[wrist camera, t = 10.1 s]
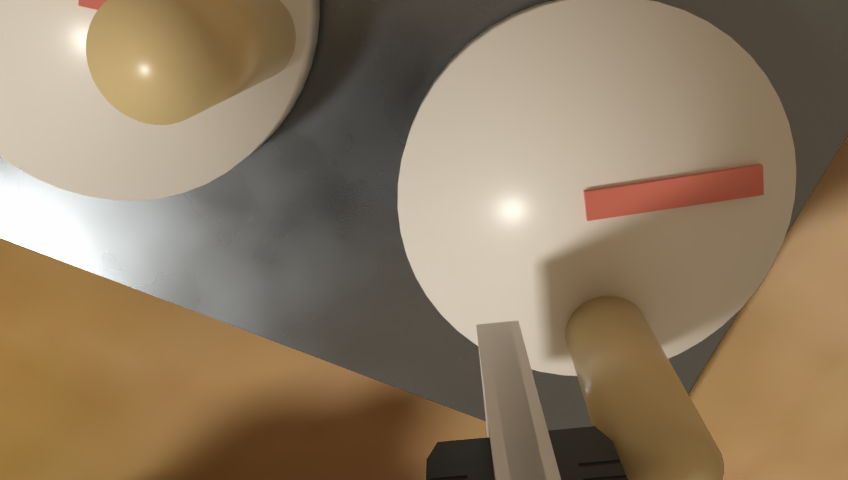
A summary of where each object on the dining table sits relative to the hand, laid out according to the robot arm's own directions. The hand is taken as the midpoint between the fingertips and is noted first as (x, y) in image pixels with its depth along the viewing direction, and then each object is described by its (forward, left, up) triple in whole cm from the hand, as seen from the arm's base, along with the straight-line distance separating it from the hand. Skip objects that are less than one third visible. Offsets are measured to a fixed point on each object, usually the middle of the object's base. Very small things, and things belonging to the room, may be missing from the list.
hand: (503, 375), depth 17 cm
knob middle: (-11, +4, -4) cm, 13 cm away
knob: (+1, +4, -4) cm, 5 cm away
